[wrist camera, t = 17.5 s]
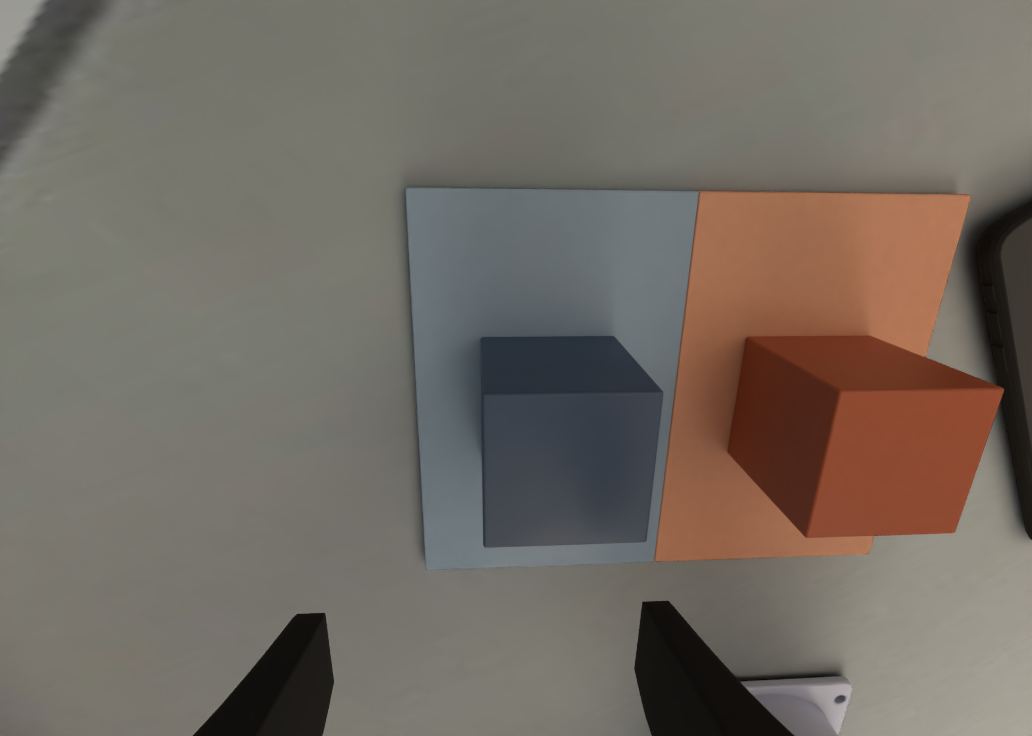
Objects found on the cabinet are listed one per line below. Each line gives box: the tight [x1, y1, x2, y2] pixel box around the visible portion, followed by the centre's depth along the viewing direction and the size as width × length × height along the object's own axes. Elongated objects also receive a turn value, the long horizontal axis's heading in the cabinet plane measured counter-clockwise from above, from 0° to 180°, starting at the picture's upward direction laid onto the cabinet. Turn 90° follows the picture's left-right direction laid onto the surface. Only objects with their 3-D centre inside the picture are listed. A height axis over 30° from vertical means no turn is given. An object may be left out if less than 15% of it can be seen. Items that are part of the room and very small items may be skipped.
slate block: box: [481, 336, 664, 548], centre depth 16 cm, size 4×4×5 cm
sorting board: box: [405, 187, 971, 570], centre depth 19 cm, size 14×18×1 cm
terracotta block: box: [728, 336, 1004, 538], centre depth 17 cm, size 4×4×5 cm
